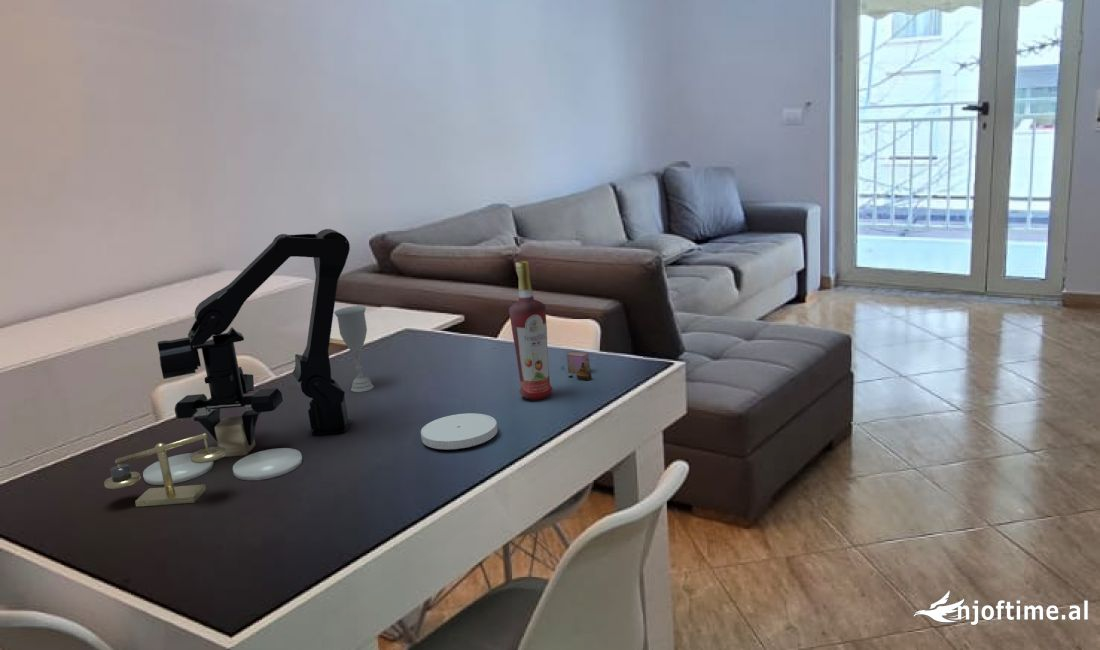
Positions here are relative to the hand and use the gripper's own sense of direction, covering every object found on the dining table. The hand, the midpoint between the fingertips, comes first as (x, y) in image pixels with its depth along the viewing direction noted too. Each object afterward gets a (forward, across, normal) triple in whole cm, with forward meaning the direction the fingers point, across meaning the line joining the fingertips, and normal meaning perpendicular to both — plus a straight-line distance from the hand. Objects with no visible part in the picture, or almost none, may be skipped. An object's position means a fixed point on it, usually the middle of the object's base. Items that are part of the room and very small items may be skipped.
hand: (237, 445), depth 176 cm
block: (+1, 0, 0) cm, 1 cm away
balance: (+1, +4, +20) cm, 20 cm away
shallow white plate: (+1, -9, +9) cm, 13 cm away
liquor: (+1, -56, -18) cm, 59 cm away
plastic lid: (+2, -43, +2) cm, 43 cm away
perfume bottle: (+2, -67, -31) cm, 74 cm away
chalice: (+1, -16, -33) cm, 37 cm away
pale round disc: (+1, +8, +8) cm, 11 cm away
